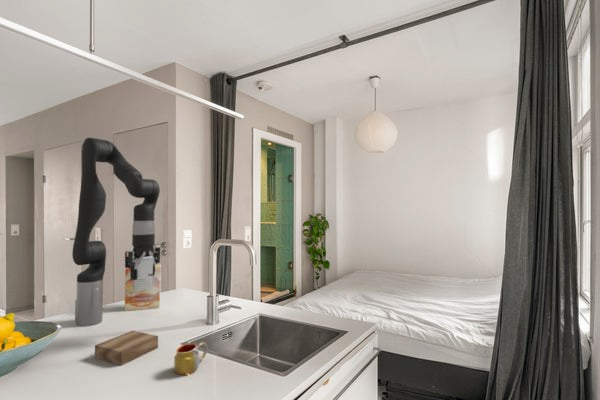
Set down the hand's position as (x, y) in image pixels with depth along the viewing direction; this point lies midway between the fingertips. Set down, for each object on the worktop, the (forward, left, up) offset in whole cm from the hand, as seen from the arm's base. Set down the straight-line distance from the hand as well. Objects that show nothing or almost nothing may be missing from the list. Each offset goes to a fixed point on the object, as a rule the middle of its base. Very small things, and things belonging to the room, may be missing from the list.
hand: (142, 277), depth 125 cm
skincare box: (0, 0, -5) cm, 5 cm away
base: (+7, -12, -22) cm, 26 cm away
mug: (+33, -11, -22) cm, 41 cm away
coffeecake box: (-29, +26, -22) cm, 45 cm away
